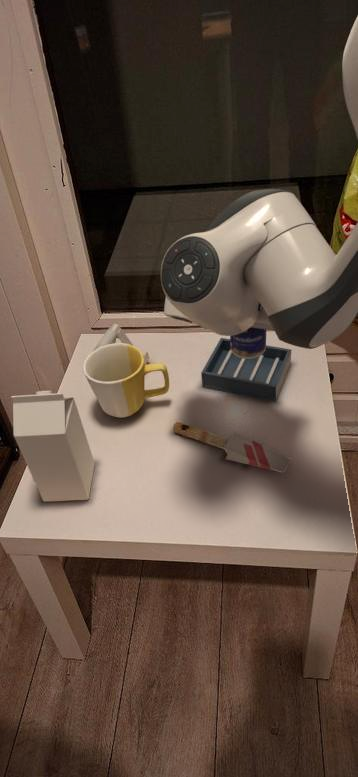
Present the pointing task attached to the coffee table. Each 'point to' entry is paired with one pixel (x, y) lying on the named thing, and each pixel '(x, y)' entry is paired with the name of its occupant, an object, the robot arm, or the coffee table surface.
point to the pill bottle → (249, 343)
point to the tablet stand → (111, 337)
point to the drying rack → (247, 372)
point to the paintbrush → (238, 448)
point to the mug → (121, 378)
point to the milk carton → (53, 445)
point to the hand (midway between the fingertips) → (249, 319)
